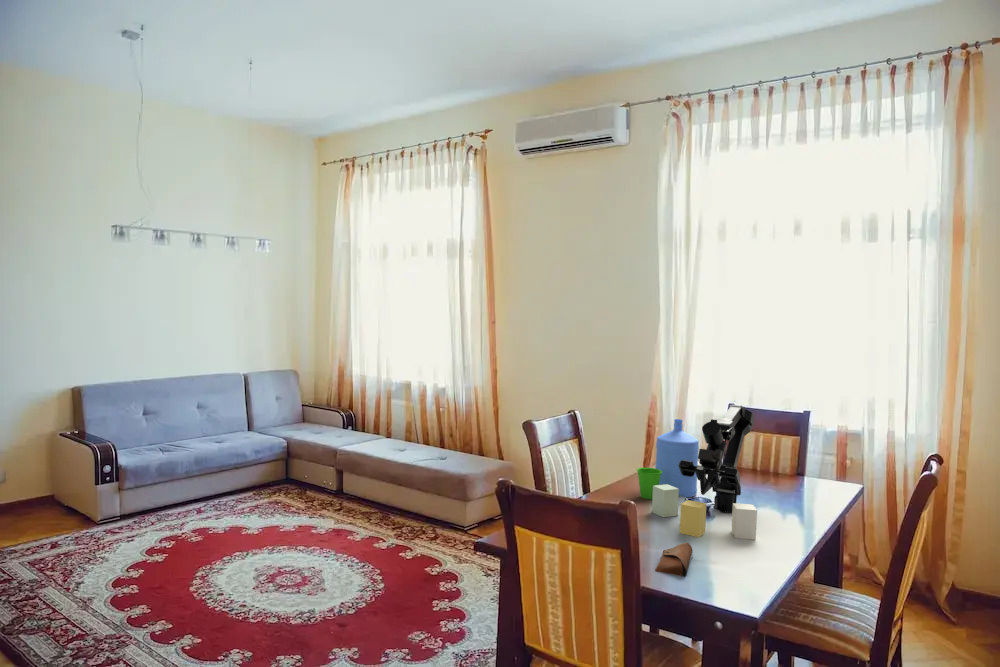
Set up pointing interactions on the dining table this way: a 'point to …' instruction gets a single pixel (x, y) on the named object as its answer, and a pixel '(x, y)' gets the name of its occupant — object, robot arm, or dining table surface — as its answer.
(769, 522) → the dining table surface
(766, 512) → the dining table surface
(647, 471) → the cup
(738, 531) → the cream block
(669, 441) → the water jug
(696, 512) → the mustard block
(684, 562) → the sunglasses case
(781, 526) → the dining table surface
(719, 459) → the robot arm
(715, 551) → the dining table surface
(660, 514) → the sage block
